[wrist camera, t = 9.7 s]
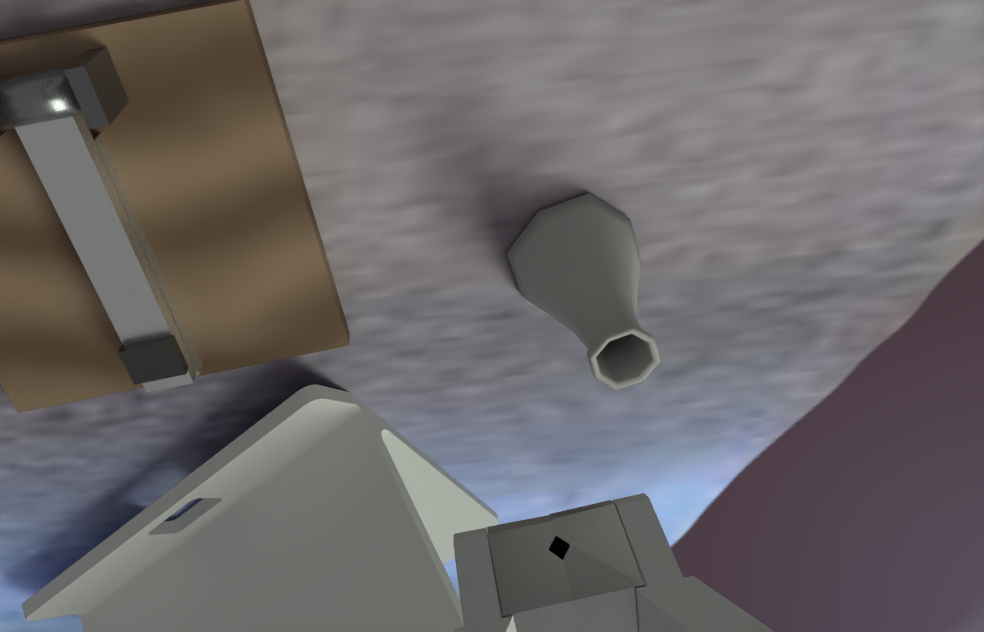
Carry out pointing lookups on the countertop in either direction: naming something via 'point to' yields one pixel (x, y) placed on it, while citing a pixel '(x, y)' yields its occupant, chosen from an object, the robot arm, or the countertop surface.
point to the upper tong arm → (96, 224)
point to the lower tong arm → (100, 107)
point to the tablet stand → (285, 536)
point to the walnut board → (168, 209)
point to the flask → (588, 284)
